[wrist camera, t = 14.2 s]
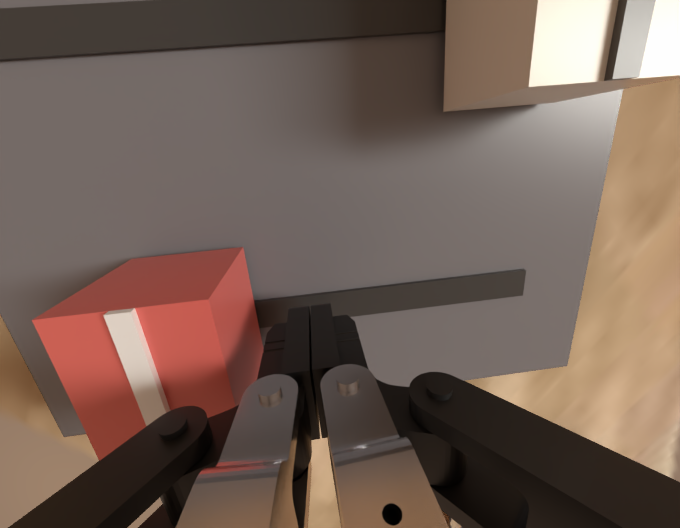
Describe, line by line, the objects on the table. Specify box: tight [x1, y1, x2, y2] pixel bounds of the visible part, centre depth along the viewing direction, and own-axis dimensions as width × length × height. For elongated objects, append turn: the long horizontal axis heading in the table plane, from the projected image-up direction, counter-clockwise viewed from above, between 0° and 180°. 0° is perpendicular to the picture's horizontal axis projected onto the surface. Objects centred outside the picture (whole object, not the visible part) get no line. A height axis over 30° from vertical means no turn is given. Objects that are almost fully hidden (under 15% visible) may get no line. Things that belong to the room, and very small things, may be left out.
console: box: [0, 0, 623, 437], centre depth 13 cm, size 20×24×3 cm
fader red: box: [32, 247, 263, 461], centre depth 10 cm, size 6×4×5 cm, turn 5°
